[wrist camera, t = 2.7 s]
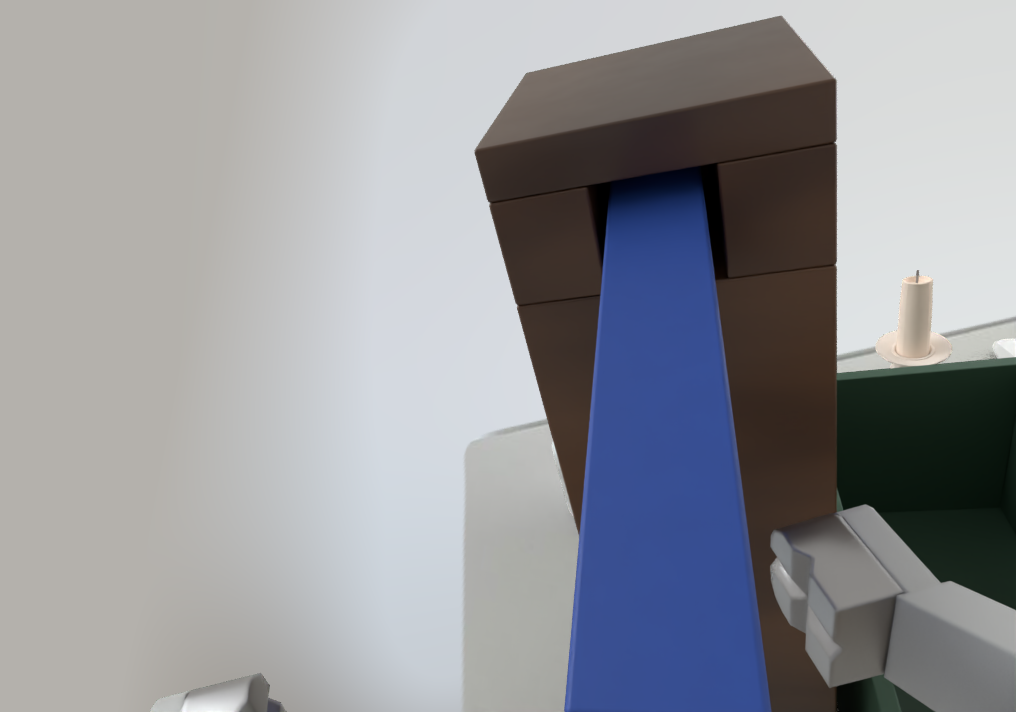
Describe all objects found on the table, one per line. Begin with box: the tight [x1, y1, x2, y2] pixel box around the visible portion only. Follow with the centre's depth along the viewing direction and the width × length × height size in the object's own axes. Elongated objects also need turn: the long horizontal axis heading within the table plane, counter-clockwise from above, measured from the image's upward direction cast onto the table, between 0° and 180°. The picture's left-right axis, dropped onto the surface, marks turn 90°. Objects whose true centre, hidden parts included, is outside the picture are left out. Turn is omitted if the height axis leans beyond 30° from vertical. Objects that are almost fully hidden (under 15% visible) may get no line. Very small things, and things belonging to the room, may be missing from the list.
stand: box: [475, 16, 837, 712], centre depth 24 cm, size 7×7×28 cm
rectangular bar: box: [564, 166, 771, 712], centre depth 13 cm, size 2×16×2 cm, turn 170°
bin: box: [837, 357, 1016, 712], centre depth 27 cm, size 10×20×10 cm, turn 170°
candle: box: [876, 270, 952, 368], centre depth 41 cm, size 5×5×10 cm
